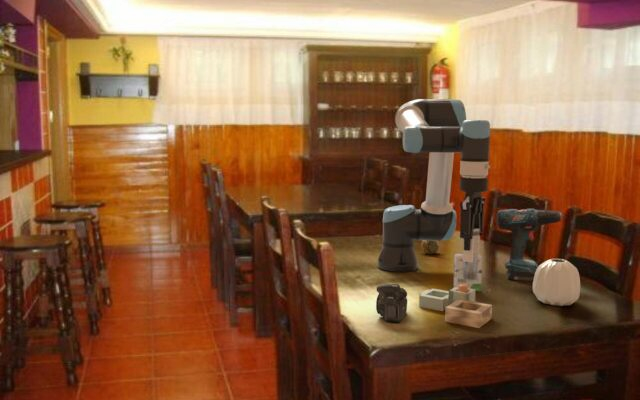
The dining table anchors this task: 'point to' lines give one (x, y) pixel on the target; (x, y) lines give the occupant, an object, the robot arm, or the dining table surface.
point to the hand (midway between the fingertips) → (470, 259)
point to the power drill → (523, 237)
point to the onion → (430, 246)
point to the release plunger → (463, 288)
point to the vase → (557, 282)
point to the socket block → (443, 298)
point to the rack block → (468, 313)
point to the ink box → (459, 273)
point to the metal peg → (472, 267)
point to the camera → (391, 302)
